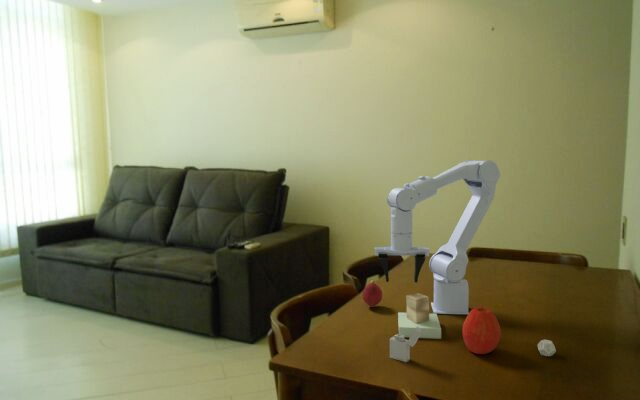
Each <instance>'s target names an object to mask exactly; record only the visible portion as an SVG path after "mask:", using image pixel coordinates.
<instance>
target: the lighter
mask: <svg viewBox="0 0 640 400" xmlns="http://www.w3.org/2000/svg"><path fill="white" fill-rule="evenodd" d="M422 331H423V330H422V329H420V328H419V327H418V326H417V327H416V328H415V329H414V331H413V333H412V334H411V336H410V337H408V338H409V339H405V338H406V337H405V336H403V335H399V333H397V334H395V335H393V336H391V337H390V338H389V358H390V359H393V360H398V361H401V362H404V363H408V362H409V361H410V359H411V356H410V355H411V354H410V353H411V351H410V350H411V348H413V347H414V346H415V345H416V343H417V342H418V340H419V339H420V338H419V336H420V334H421V333H422Z"/></svg>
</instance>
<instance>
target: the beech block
mask: <svg viewBox="0 0 640 400" xmlns="http://www.w3.org/2000/svg"><path fill="white" fill-rule="evenodd" d="M405 296H406V297H405V299H406V301H405V303H406V313H407V319H409V320H411V321H413V322H415V323H419V322H423V321H428V320H429V314H430V301H429V299H430V298H429V296H427V295H425V294H422V293H419V292H417V293H414V294H413V293H412V294H407V295H405Z"/></svg>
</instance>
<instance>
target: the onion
mask: <svg viewBox="0 0 640 400" xmlns="http://www.w3.org/2000/svg"><path fill="white" fill-rule="evenodd" d="M361 296H362V299H363V302H364V303H365V304H366V305H368V306H369V307H371V308H374V307H376V306H377V305H379V303H381V301H382V299H383V291H382V289H381V287H380V286H379V285H377V284H376V281H374V280H373V279H372V280H370V282H369V284H367V285H365V287H364V288H363V290H362V295H361Z"/></svg>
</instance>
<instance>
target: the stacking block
mask: <svg viewBox="0 0 640 400" xmlns="http://www.w3.org/2000/svg"><path fill="white" fill-rule="evenodd" d="M397 320H398V321H397V323H398V334H399V335H403V336H405V338H410V336H411V334H412V333H413V331H414V329H415V328H416V327H417V326H418V327H419V328H420V329H422V330H423V331H422V333H421V334H420V336H419V338H418V339H436V340H437V339H439V340H441V339H442V328H441V323H440V321H439V317H438V314H436V313H429V320H428V321H423V322H419V323H415V322H413V321H411V320H409V319H407V312H400V311H399V312H398V313H397Z"/></svg>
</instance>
